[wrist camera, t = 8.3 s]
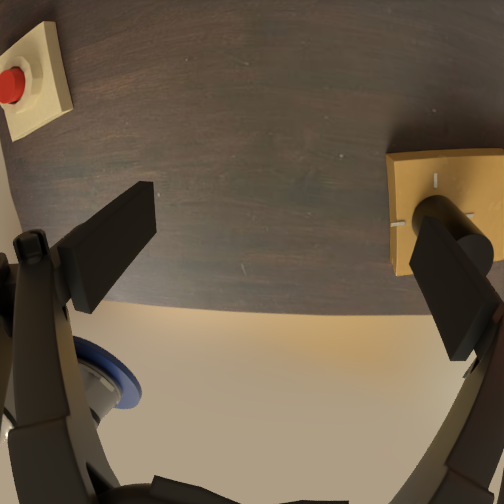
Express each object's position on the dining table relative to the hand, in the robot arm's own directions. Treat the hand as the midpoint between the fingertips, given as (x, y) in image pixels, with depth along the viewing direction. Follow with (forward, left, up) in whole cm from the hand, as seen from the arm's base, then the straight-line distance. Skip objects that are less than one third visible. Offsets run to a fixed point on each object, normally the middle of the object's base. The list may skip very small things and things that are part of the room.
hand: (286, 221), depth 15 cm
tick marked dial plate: (+16, -7, -16) cm, 24 cm away
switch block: (-27, +17, -16) cm, 36 cm away
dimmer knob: (+13, -7, -13) cm, 20 cm away
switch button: (-27, +17, -13) cm, 34 cm away
